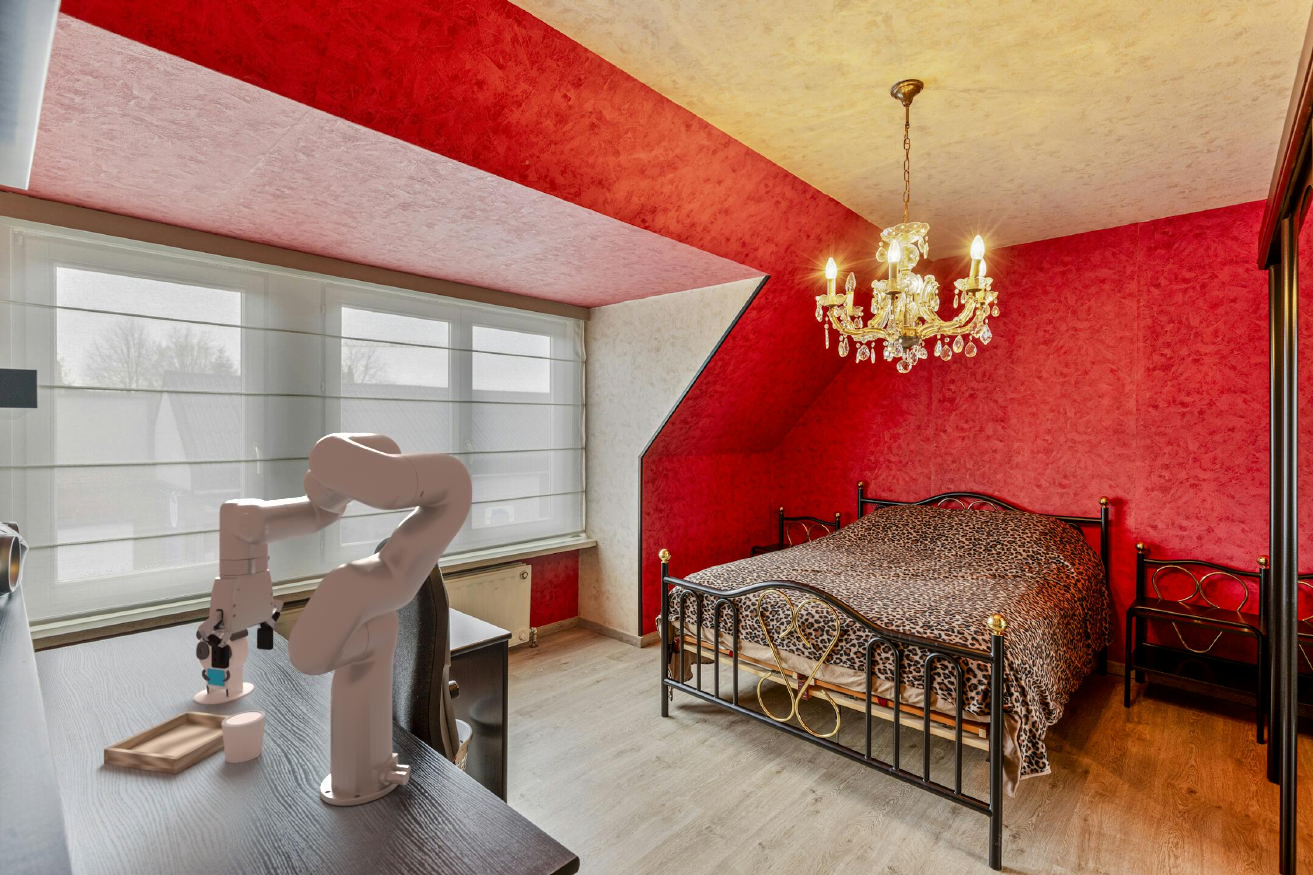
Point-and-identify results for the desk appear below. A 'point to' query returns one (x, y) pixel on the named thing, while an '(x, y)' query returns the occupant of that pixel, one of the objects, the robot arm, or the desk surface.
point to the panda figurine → (224, 671)
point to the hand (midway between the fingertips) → (243, 657)
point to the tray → (170, 744)
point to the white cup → (243, 735)
